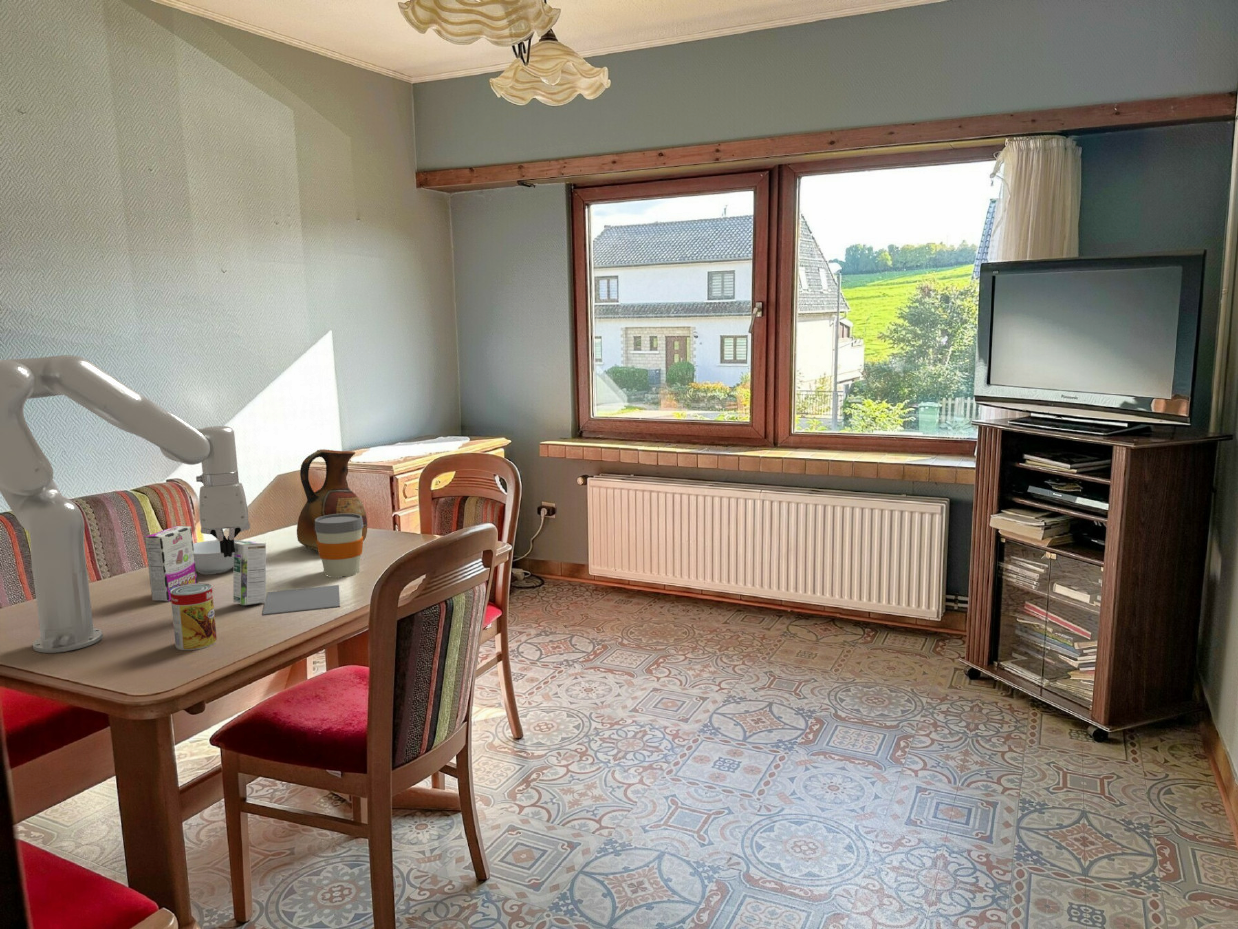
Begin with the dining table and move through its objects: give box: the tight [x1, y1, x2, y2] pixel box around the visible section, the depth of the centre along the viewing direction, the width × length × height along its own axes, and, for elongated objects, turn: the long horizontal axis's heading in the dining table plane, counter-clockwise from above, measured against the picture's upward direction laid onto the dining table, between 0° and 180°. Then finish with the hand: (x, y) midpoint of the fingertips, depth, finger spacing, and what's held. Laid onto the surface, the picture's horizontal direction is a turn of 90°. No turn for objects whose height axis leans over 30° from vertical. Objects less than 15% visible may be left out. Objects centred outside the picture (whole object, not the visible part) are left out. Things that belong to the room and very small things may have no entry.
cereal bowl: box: [193, 539, 242, 575], centre depth 242 cm, size 17×17×7 cm
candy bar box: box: [144, 525, 198, 602], centre depth 219 cm, size 11×5×16 cm, turn 168°
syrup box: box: [232, 540, 267, 606], centre depth 211 cm, size 6×6×14 cm
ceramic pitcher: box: [296, 448, 368, 551], centre depth 262 cm, size 20×20×30 cm
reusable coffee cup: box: [315, 513, 364, 578], centre depth 237 cm, size 13×12×15 cm
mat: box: [262, 584, 341, 616], centre depth 214 cm, size 18×17×1 cm
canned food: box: [170, 582, 218, 651], centre depth 185 cm, size 8×8×12 cm
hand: (228, 555), depth 209 cm, fingers closed
